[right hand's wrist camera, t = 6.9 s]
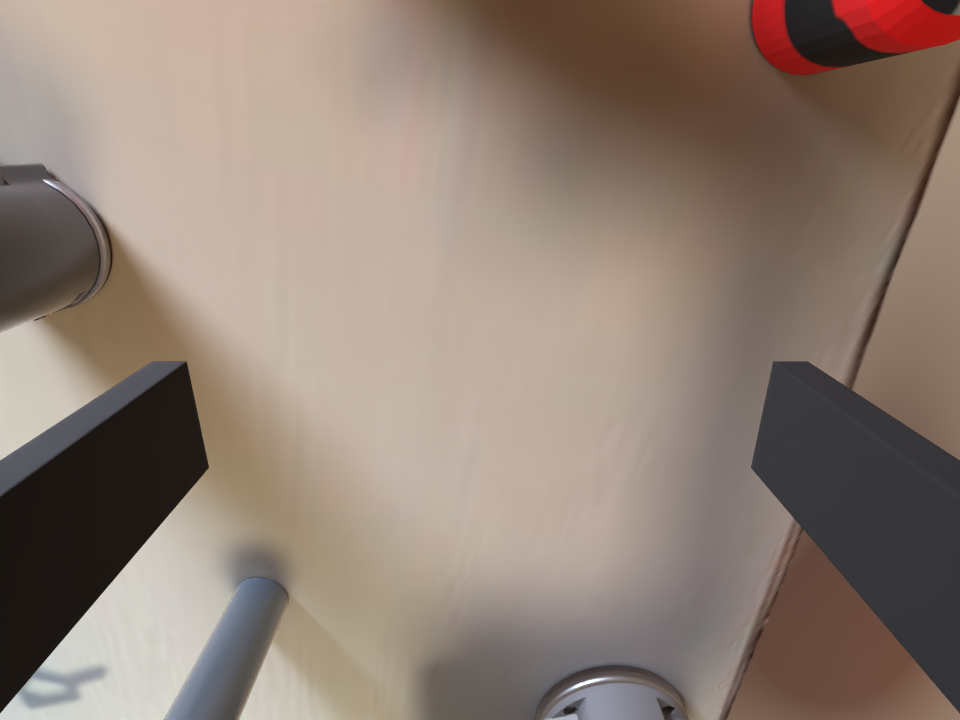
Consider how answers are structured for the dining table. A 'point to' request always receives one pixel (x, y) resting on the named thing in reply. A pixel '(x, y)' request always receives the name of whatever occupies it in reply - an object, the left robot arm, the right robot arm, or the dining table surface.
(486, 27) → the dining table surface
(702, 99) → the dining table surface
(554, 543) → the dining table surface
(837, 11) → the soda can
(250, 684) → the jar
